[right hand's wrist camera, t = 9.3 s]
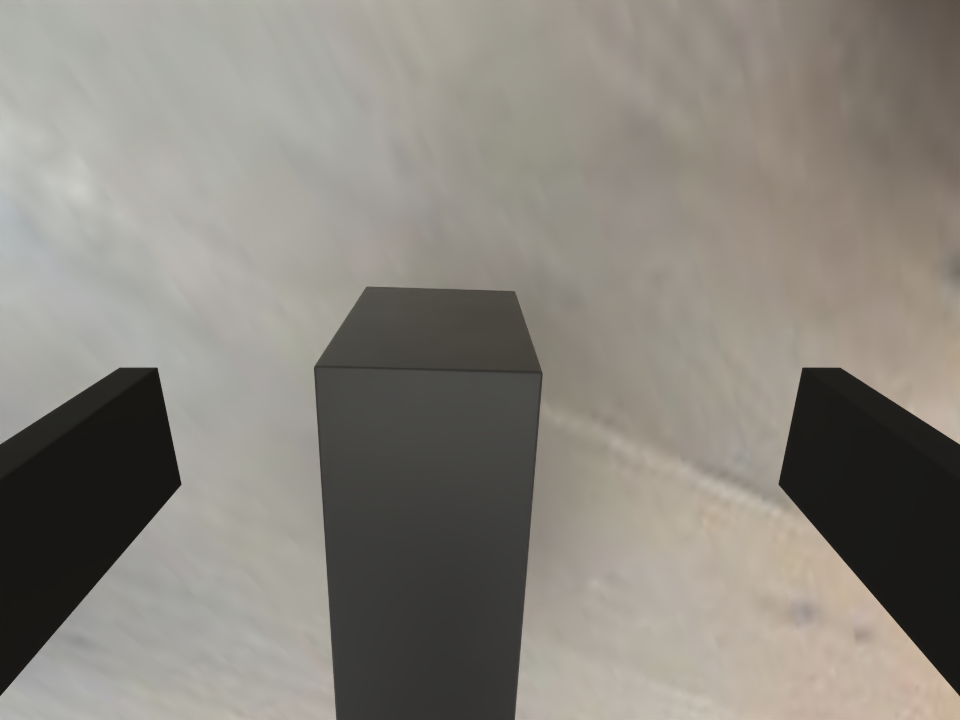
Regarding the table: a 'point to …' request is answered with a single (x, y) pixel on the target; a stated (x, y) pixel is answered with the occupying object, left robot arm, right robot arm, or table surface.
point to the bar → (428, 501)
